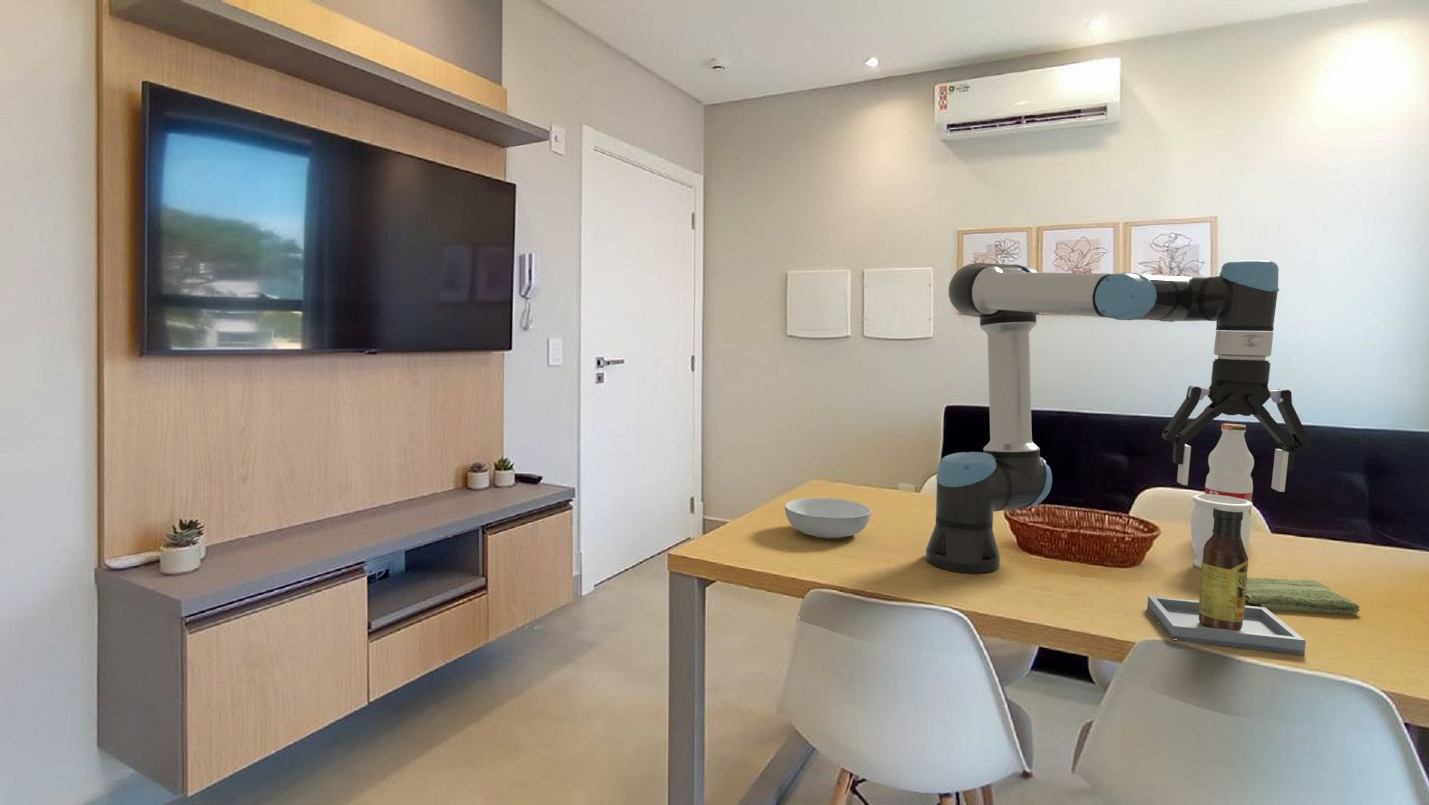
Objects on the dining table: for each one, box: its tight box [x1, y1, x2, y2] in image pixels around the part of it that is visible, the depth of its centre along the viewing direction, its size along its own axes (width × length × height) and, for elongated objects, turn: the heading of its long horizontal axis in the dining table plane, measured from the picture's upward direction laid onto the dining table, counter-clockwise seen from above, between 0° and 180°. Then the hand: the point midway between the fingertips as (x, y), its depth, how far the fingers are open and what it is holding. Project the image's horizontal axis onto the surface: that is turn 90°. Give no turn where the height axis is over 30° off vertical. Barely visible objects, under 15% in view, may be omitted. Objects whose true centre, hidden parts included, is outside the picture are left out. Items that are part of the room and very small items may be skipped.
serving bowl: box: [784, 497, 872, 540], centre depth 176 cm, size 21×21×7 cm
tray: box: [1146, 595, 1307, 656], centre depth 120 cm, size 18×14×2 cm
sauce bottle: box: [1198, 507, 1249, 631], centre depth 119 cm, size 6×6×20 cm
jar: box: [1190, 493, 1253, 569], centre depth 152 cm, size 11×10×15 cm
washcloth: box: [1245, 577, 1361, 616], centre depth 134 cm, size 13×18×3 cm
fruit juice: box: [1204, 423, 1255, 517], centre depth 175 cm, size 9×9×28 cm
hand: (1229, 486), depth 118 cm, fingers open, 13 cm apart
